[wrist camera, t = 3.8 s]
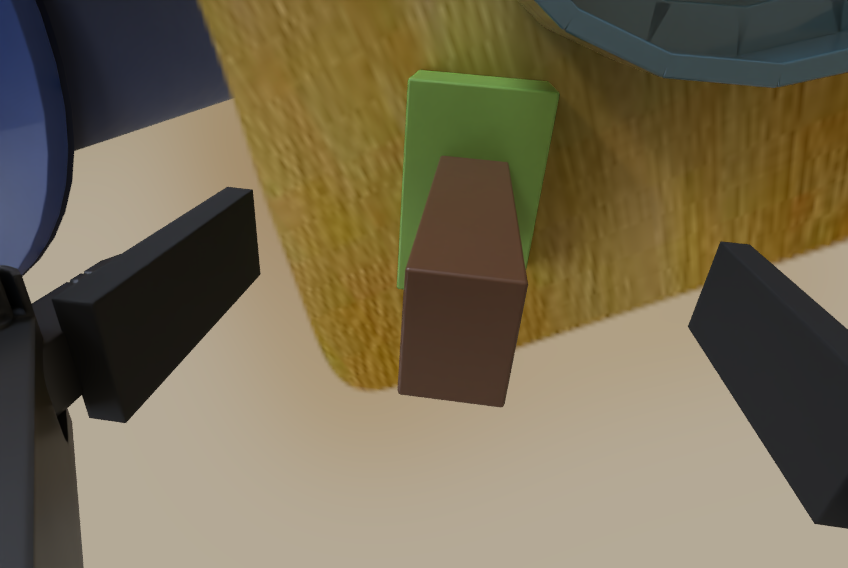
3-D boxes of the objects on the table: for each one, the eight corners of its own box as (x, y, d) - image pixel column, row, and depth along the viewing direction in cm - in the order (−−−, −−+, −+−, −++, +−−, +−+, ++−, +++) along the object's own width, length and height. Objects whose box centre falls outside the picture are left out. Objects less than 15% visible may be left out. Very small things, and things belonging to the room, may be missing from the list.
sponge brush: (515, 270, 23) (543, 490, 12) (406, 258, 23) (340, 463, 12) (550, 81, 19) (631, 165, 8) (418, 69, 19) (337, 135, 9)
